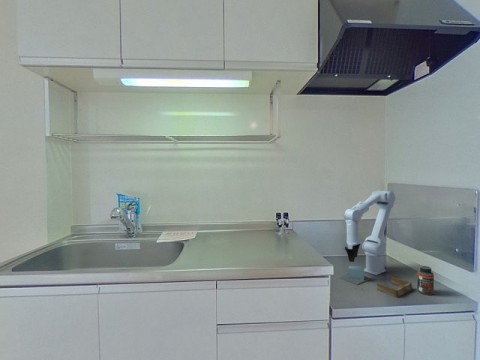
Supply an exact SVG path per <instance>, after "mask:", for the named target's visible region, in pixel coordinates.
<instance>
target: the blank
mask: <svg viewBox="0 0 480 360" xmlns="http://www.w3.org/2000/svg"><path fill="white" fill-rule="evenodd" d="M364 269H365V267H362V266H357V265H356V266H353V265H348V269H347V270H348V271H347V272H348V273H347V274H349V278H351V279H358V280H364V276H365V271H364Z"/></svg>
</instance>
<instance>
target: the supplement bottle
mask: <svg viewBox="0 0 480 360" xmlns="http://www.w3.org/2000/svg"><path fill="white" fill-rule="evenodd" d="M434 276H435V275H434V273H433V272H432V268H431V267H430V266H428V265H421V266H419V270H417V282H416V283H417V287H416V288H417V292H418V293H420V294H422V295H425V296H431V295H434V291H435V289H434V288H435V277H434Z"/></svg>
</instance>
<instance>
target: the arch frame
mask: <svg viewBox="0 0 480 360" xmlns="http://www.w3.org/2000/svg"><path fill="white" fill-rule="evenodd" d="M390 284H391V285H395V286H397V288H392V287H391V286H387V285H384V284H381V283H378V282H377V283H376V290H377V291H379V292H382V293H384V294H386V295H389V296H392V297H394V298H400V297H401V296H403V295H404V294H407V293H408V292H410V291H412V290H413V289H412V288H413V286H412V285H413V283H412V282H409V281H406V280H403V279H400V278H397V277H393V276H391V277H390ZM398 287H399V288H398Z"/></svg>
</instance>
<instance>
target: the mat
mask: <svg viewBox="0 0 480 360" xmlns="http://www.w3.org/2000/svg"><path fill="white" fill-rule="evenodd" d="M339 279H341V280H344V281H347V282H349V283H352V284H354V285H357V286H359V285H361V284H363V283H366V282H368V281H370V280H372V278H371V277H368V276H367V275H364V280H358V279H351V278H349V273H347V274H345V275H342V276H339Z"/></svg>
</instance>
